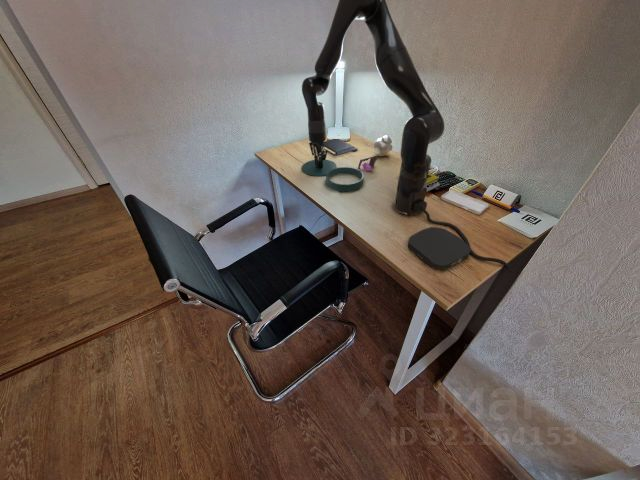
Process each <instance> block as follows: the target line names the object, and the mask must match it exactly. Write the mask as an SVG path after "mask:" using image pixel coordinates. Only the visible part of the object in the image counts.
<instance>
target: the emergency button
mask: <svg viewBox="0 0 640 480" xmlns="http://www.w3.org/2000/svg"><path fill="white" fill-rule="evenodd" d="M438 180H439V177H438V176H437V175H435V174H433V173H431V172H429V173H428V177H427V181H426V185H425V188H426V189H427V191H426V193H428V192H431V191H432V190H434V189H435V188H438V187H440V185H441V184H440V182H438ZM435 182H437V183H435ZM432 183H435V184H433V187H431V186H429V187H427V185H429V184H432Z"/></svg>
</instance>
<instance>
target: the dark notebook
mask: <svg viewBox="0 0 640 480" xmlns="http://www.w3.org/2000/svg"><path fill="white" fill-rule="evenodd" d="M323 144H324V149H325V150H327V153H328V154H331V155H332V156H333V157H338V156H341V155H345V154H348V153H353V152H357V151H358V148H357V147H356V146H353V145H351V144H350V143H348V142H345V141H343V140H341V139H339V138H338V139H335V138H332V139H327V140H325V141H324V142H323Z"/></svg>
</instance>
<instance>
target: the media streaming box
mask: <svg viewBox="0 0 640 480" xmlns="http://www.w3.org/2000/svg"><path fill="white" fill-rule="evenodd" d="M407 247H408V249H409V251H411V252H412V253H413V254H414V255H415V256H417V257H418V258H419V259H420V260H421V261H423V263H425V264H426V265H427V266H428V267H430V268H432V269H435V270H439V271H443V270H444V271H445V270H447V269H450V268H453V267H454V266H455V265H457V264H459V263H461V262H464V261H465V260H466V259H467V258H468V257H469V255H470V248H471V247H470V248H469V246H468V245H467V244H466V243H465V241H464V240H463V238H461V237H459V236H458V235H456V234H455V233H453V232H451V231H449V230H447V229H446V228H442V227H438V226H431V227H427V228H424V229H422V230H420V231H418V232H416V233H414V234H413V235H411V236H410V237H409V239H408V243H407Z"/></svg>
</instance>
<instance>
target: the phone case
mask: <svg viewBox="0 0 640 480" xmlns="http://www.w3.org/2000/svg"><path fill="white" fill-rule="evenodd" d="M440 199H441V200H442V201H444V202H446V203H449V204H451V205H454V206H457V207H458V208H461V209H463V210H465V211H468V212H470V213H473V214H474V215H477V216H480V215H481V214H483V212H485V211H486V210H487V209H488V208H489V206H490V204H489V203H487V202H485V201H482V200H480V199H478V198H474V197H472V196H470V195H467V194H465V193H461V192H459V191H457V190H454V189H449V190H448V191H446V192H445V193H443V194H442V195H441V196H440Z"/></svg>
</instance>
